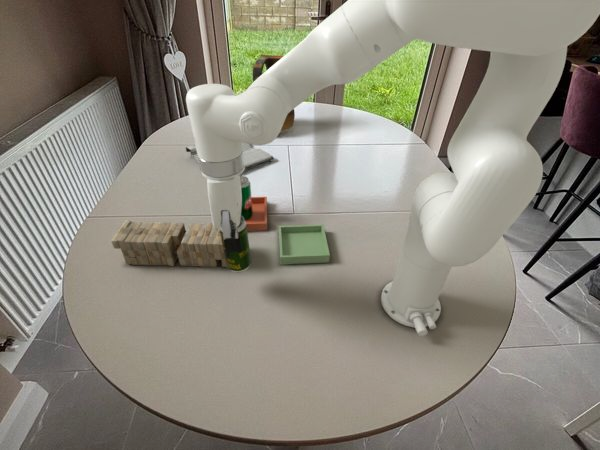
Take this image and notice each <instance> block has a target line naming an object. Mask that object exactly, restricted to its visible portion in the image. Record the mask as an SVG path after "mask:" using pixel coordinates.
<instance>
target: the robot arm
mask: <svg viewBox="0 0 600 450" xmlns="http://www.w3.org/2000/svg"><path fill="white" fill-rule="evenodd" d="M599 16H600V0H346V1H345V2H344V3H343V4H342V5H340V6H339V7H338V8H337V9H335V11H333V12H332V13H331V14H330V15H329V16H327V17H326V18H325V19H323V20H322V21H321V22H320V23H319V24H318V25H316V26H315V27H314V28H313V29H312V30H311V31H310V32H309V33H308V34H307V35H306V36H305V38H303V40H302V41H300V42H299V43H298V44H297V45H295V46H294V47H293V48H291V49H290V50H289V51H288V52H287V53H286V54H284V55H282V56H283V57H282V58H281V59H280V60H279V61H278V62H276V63H275V64H274V65H273V66H272V67H270V68H269V69H268V70H267V71H264V72H262V75H261V76H260V77H258V78H257V79H256V80H255V81H254V82H253V81H252V83H251V84H250V85H249V86H248V87H247V89H245V91H242V92H241V93H238V94H236V93H235V90H233V89H232V88H231V87H230V86H228V85H227V84H221V83H204V84H199V85H197V86H194V87H191V88H189V90H188V91H187V93H186V96H185V103H186V109H187V112H188V118H189V123H190V127H191V132H192V136H193V141H194V145H195V146H196V150H197V155H198V160H199V164H200V165H199V164H198V165H199V169H200V173H201V175H202V177H204V178H205V179H206V187H207V189H206V190H207V198H208V203H209V212H210V216H211V222H212V223H211V224H213V227H214V228H219V227H220V224H222V232H223V240H224V245H225V250H226V252H227V253H233V252H242V244H241V238H240V235H238V225H239V224H240V218H241V208H242V190H241V182H240V176H241V175H242V174H243V173H244V171H245V170H246V169H245V165H244V157H243V149H242V142H243V143H247V144H249V145H250V146H265V145H269V144H270V143H272V142H274V140H276V139H277V138H278V137H279V135H280V133H281V132H280V131H281V128H282V126H283V124H284V121H285V119H286V117H287V115H288V113H289V112H290V111H292V110H293V109H294V110H295V109H296V108H297V107H298V106H300V105H301V104H302V103H304V102H305V101H307V100H308V99H309V98H311V97H312V96H313V95H315V94H316V93H318V92H320V91H321V90H324V89H326V88H328V87H331V86H336V85H348V84H352V83H354V82H357V81H358V80H359V79H361V78H362V77H363V76H365V75H366V74H368V73H369V72H370V71H372V70H374V69H375V68H376V67H378V66H379V65H380V64H381V63H383V62H384V61H386V60H387V59H388V58H390V57H391V56H392V55H393V56H394V54H396V53H397V52H398V51H399V50H401V49H402V48H404V47H406V46H407V45H409V44H410V43H412V42H413V41H415V40H418V41H421V42H425V43H430V44H435V45H440V46H446V47H453V48H458V49H467V50H476V51H483V52H484V51H485V52H490V57H489V62H488V67H487V69H486V73H485V75H484V77H483V79H482V81H481V83H480V86H479V88H478V89H477V92H476V94H475V95H474V97H473V99H472V100H471V103H470V104H469V106H468V108H467V110H466V112H465V114H464V115H463V117H462V119H461V120H460V122H459V124H458V126H457V128H456V129H455V131H454V133H453V134H452V136H451V138H450V140H449V143H448V145H447V150H446V153H447V155H446V156H447V159H448V164H449V165H450V167H451V170H452V171H439V172H435V173H433V174H430V175H429V176H427V177H426V178H424V179H423V180H422V181H421V182H420V183H419V185H418V186H417V188H416V190H415V192H414V193H413V197H412V202H411V206H410V214H409V218H408V219H409V221H408V225H407V230H406V234H405V238H404V240H403V244H402V248H401V252H400V255H399V258H398V262H397V265H396V269H395V271H394V272H395V273H394V275H393V280H392V281H390V282H389V283H387V284H386V285H385V286H384V287H383V288H382V290H381V291H382V292H381V296H380V301H381V305H382V307H383V310H384V311H385V312H386V314H387V315H388V316H389V317H390V318H391V319H392V320H394V321H395V322H397V323H398V324H401V325H403V326H406V327H410V328H415V331H416V333H417V335H418V337H424V336H426V335H428V333H429V332H428V329H427V327H428V328H429V330H434V329H437V325H436V322H437V321H438V319H439V317H440V315H441V311H442V306H441V305H442V304H441V302H440V299H439V297H440V295H441V293H442V290H443V288H444V285H445V283H446V281H447V278H448V276H449V274H450V272H451V269H452V268H453V267H454V268H455V267H457V268H458V267H465V266H467V265H470V264H473V263H475V262H477V261H478V260H480V259H482V258H483V257H484V256H486V254H488V253H489V252H490V251H491V250H492V248H494V247H495V246H496V244H497V243H498V242H499V241H500V240H501V239H502V237H503V236H504V235H505V234H506V232H507V231H508V230H509V229H510V228H511V226H512V225H513V224H514V223H515V222H516V220H517V219H518V218H519V216H521V215H522V213H523V212H524V210H526V208H527V207H528V206H529V204H530V203H531V202H532V201H533V199H534V198H535V196H536V194H537V193H538V191H539V189H540V187H541V183H542V180H543V175H544V174H543V173H544V166H543V161H542V159H541V156H540V155H539V153H538V151H537V150H536V148H534V147H533V145H532V144H531V143H530V142H529V141H528V140H527V138H528V135H529V133H530V132H531V130H532V128H533V127H534V125H535V123H536V122H537V120H538V119H539V117H540V116H541V114H542V113H543V111H544V109H545V108H546V106H547V104H548V102H549V101H550V100H551V98H552V97H553V94H554V92H555V91H556V88H558V85H559V82H560V80H561V77H562V75H563V71H564V68H565V64H566V61H567V54H568V46H570V45H571V44H573V43H575V42H576V41H578V40H579V39H580V38H581V37H582V36H583V35H584V34H586V33H587V32H588V30H590V29H591V28H592V26H593V25H594V23H595V22H596V21H597V19H598V17H599ZM230 220H232V221H233V222H230ZM231 227H234V232H232V231H231Z"/></svg>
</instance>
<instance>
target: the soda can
mask: <svg viewBox="0 0 600 450" xmlns="http://www.w3.org/2000/svg"><path fill="white" fill-rule="evenodd" d="M240 182H241V190H242V208H241V216H243V217H244V220H247V219H249V218H250V217H251V216H252V215H253V209H252V197H253V196H252V186H251V181H250V179H249V178H248V177H247V176H244V175H240Z"/></svg>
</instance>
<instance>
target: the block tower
mask: <svg viewBox="0 0 600 450" xmlns="http://www.w3.org/2000/svg"><path fill="white" fill-rule="evenodd" d="M110 243H111V245H112V247H113V248H114V249H116V250H117V249H120V251H121V253H122V256H123V259H124V261H125V264H126V265H132V266H133V265H135V266H138V265H139V266H140V265H141V266H143V265H147V266H150V265H151V266H169V267H171V266H172V267H173V266H175V264H176V262H177V260H178V262H179V265H180V266H182V267H184V266H185V267H186V266H188V267H189V266H190V267H207V268H209V267H214V268H215V267H217V265H218V262H219V261H221V267H222V268H228V267H227V265H226V260H225V255H224V250H223V246H222V241H221V236H220V231H219V228H214V227H213V223H199V222H197V223H195V222H191V223H189V225H188V227H187V229H186V226H185V223H184V222H166V221H161V222H160V221H155V222H152V221H151V222H150V221H149V222H148V221H131V220H129V219H127V220H125V221H124V222H123V223H122V225H121V226H120V227H119V228H118V230H117V232H116V233H115V234H114V235H113V237H112V239H111V240H110Z"/></svg>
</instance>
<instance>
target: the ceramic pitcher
mask: <svg viewBox="0 0 600 450" xmlns="http://www.w3.org/2000/svg"><path fill="white" fill-rule="evenodd" d="M283 56H284V55H279V54H278V55H277V54H275V55H270V54H260V55H259V57H258V58H257V59H256V60H255V62H254V63H253V66H252V83H253V82H254V81H255V80H256V79H257V78H258V77H260V76H261V75H262V74H263V69H264V66H265V70H266V71H267V70H268V69H269V68H270V67H272V66H273V65H274V64H275V63H276V62H278V61H279V60H280V59H281V58H282V57H283ZM266 71H265V72H266ZM295 114H296V113H295V108H294V109H293V110H292V111H290V112H289V113H288V115H287V117H286V119H285V121H284V124H283V126H282V128H281V131H280V133H282V132H285V131H287V130H290V129H291V128H292V127H293V125H294V123H295V117H296V115H295Z"/></svg>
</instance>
